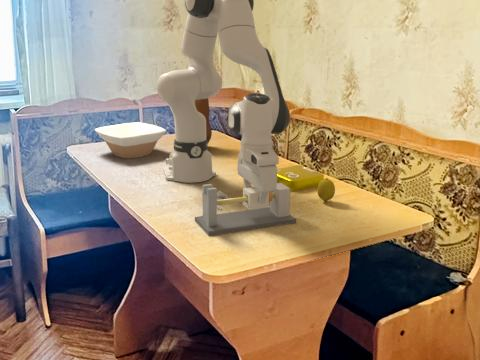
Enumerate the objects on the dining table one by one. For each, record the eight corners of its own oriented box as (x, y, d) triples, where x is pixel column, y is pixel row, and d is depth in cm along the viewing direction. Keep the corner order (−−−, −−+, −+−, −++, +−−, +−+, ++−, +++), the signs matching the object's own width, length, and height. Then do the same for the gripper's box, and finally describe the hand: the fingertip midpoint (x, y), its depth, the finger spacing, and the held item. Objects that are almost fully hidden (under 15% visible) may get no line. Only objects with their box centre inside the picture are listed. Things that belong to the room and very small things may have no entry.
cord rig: (194, 220, 172) (194, 181, 168) (277, 209, 182) (279, 172, 178) (208, 235, 161) (208, 194, 157) (295, 222, 171) (297, 183, 167)
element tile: (325, 186, 206) (326, 173, 205) (291, 193, 198) (292, 179, 197) (299, 175, 218) (299, 163, 217) (266, 181, 210) (266, 169, 209)
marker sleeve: (242, 204, 172) (243, 188, 171) (261, 202, 174) (261, 186, 173) (249, 209, 168) (249, 193, 166) (268, 207, 170) (269, 191, 169)
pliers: (219, 206, 180) (201, 192, 193) (219, 211, 180) (201, 197, 193) (248, 202, 184) (228, 188, 197) (248, 207, 184) (228, 193, 197)
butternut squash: (176, 147, 256) (175, 90, 249) (204, 144, 262) (203, 88, 255) (188, 154, 244) (187, 94, 237) (217, 151, 250) (217, 92, 243)
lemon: (313, 200, 190) (315, 176, 188) (328, 198, 192) (330, 175, 190) (322, 205, 185) (323, 181, 183) (337, 203, 187) (338, 179, 185)
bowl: (90, 153, 245) (89, 128, 242) (140, 144, 261) (139, 121, 258) (120, 165, 228) (119, 138, 225) (172, 154, 244) (171, 129, 241)
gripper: (232, 144, 174) (232, 188, 179) (260, 162, 156) (259, 210, 161) (252, 142, 177) (251, 186, 181) (281, 160, 159) (280, 208, 163)
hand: (255, 198), depth 171 cm, fingers open, 8 cm apart
